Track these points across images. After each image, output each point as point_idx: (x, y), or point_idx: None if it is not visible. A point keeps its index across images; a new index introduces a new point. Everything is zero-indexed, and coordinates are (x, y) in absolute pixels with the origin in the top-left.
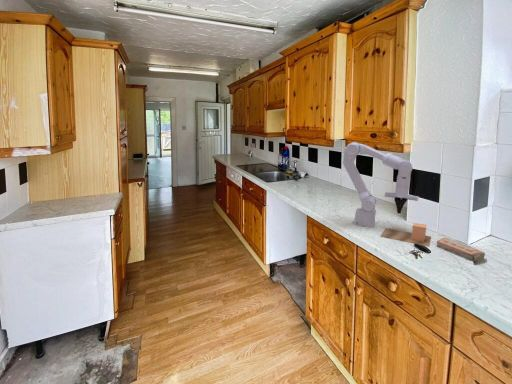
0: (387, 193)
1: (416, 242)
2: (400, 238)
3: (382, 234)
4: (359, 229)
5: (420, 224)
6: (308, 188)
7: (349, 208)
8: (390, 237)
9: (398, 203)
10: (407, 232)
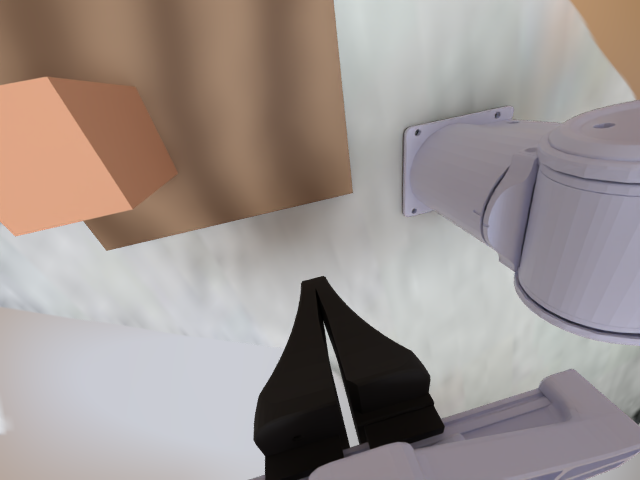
0: (614, 449)
1: (60, 41)
2: (195, 45)
3: (328, 34)
4: (474, 81)
5: (48, 194)
6: (632, 375)
7: (521, 323)
8: (258, 2)
9: (347, 345)
10: (231, 214)
